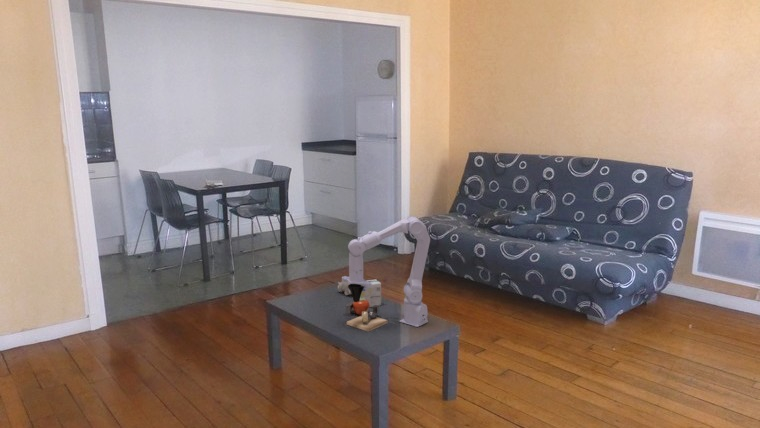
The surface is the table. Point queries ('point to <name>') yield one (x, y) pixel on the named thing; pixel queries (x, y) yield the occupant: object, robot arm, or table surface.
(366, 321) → the lever
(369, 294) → the light bulb box
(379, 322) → the board
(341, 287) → the round bodied animal figurine
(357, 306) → the tomato
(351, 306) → the anvil
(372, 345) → the table surface
